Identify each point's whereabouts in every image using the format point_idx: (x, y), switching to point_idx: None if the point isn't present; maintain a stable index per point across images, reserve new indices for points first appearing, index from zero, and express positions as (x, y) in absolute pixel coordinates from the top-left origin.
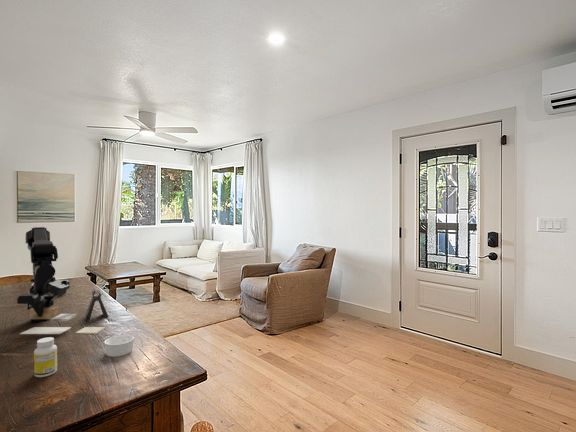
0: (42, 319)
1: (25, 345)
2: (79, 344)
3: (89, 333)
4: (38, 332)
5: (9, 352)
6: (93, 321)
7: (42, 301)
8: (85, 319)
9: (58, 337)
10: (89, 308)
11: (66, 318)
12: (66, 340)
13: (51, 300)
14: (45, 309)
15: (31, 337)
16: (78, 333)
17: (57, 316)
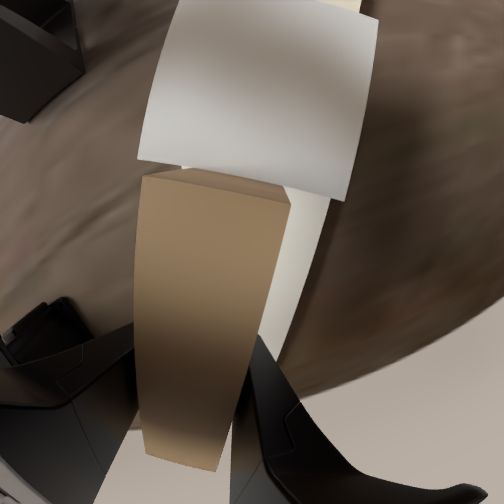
0: (70, 332)
1: (453, 262)
2: (478, 13)
3: None
4: (278, 278)
5: (496, 289)
6: (89, 30)
7: (478, 490)
8: (75, 66)
9: (383, 111)
10: (14, 43)
11: (364, 26)
12: (437, 60)
13: (33, 384)
14: (248, 355)
15: (333, 289)
16: (359, 3)
17: (258, 152)
